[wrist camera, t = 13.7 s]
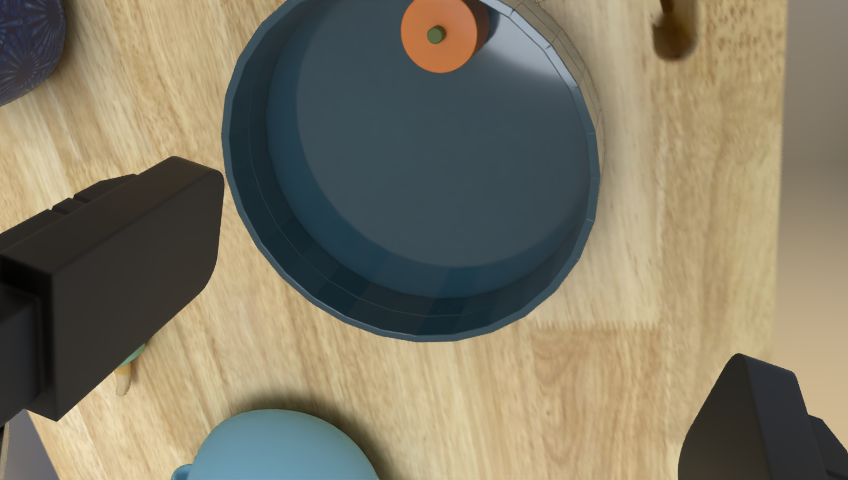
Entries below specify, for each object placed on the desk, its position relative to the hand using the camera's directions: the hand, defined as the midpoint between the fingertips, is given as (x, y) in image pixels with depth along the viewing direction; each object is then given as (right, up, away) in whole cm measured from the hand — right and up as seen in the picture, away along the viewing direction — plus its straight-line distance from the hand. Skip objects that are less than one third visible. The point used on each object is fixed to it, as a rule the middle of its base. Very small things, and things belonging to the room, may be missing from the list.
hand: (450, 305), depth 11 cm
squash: (+1, +13, +28) cm, 30 cm away
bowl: (0, +6, +32) cm, 32 cm away
